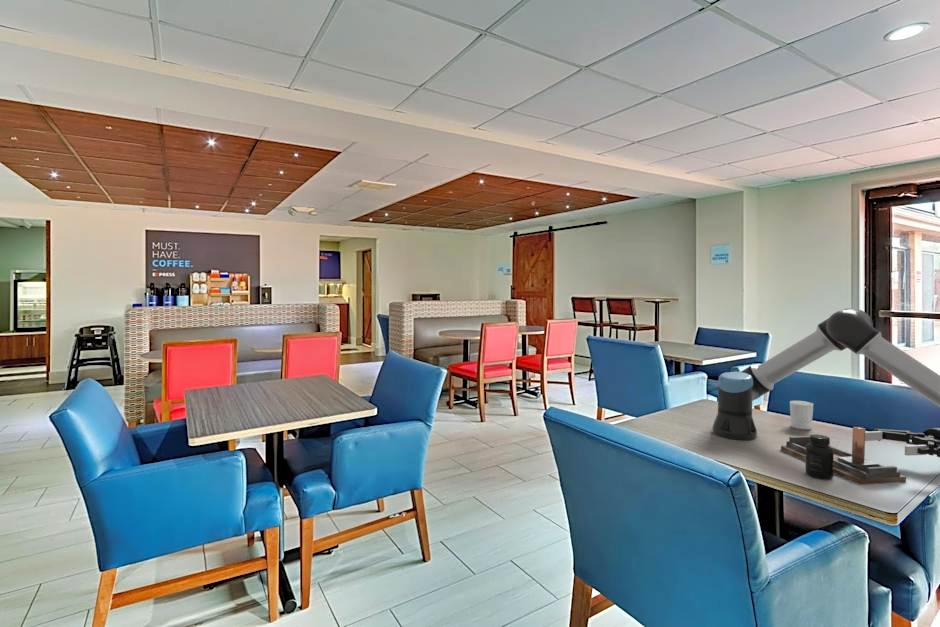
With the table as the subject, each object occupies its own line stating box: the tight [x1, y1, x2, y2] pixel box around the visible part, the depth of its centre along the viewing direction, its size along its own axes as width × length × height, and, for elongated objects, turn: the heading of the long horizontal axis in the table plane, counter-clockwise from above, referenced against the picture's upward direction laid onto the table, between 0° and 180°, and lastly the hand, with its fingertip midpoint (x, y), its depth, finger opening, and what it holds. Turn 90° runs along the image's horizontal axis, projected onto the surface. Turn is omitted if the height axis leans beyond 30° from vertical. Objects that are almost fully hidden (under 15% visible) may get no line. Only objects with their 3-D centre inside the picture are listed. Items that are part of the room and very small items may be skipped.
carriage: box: [838, 426, 880, 472], centre depth 147 cm, size 7×7×12 cm
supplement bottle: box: [804, 434, 834, 480], centre depth 145 cm, size 7×7×12 cm
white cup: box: [789, 400, 814, 430], centre depth 195 cm, size 8×8×10 cm
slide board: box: [780, 435, 907, 485], centre depth 154 cm, size 30×15×4 cm, turn 6°
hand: (883, 443), depth 148 cm, fingers open, 13 cm apart
